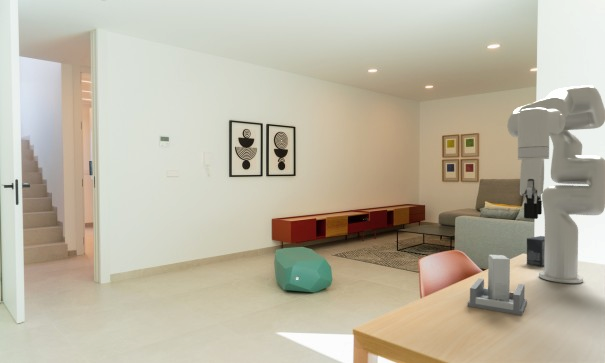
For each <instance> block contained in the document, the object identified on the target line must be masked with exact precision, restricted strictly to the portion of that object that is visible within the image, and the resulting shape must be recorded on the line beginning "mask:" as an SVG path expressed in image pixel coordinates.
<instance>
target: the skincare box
mask: <svg viewBox="0 0 605 363" xmlns="http://www.w3.org/2000/svg"><path fill="white" fill-rule="evenodd" d="M487 261H488V267H487V268H488V269H487V270H488V271H487V272H488V274H487V281H488V282H487V288H488V297H489V298H490V299H492V300H499V301H505V302H509V291H510V285H511V284H510V281H511V278H510V276H511V273H510V272H511V271H510V269H511V267H510V266H511V259H510V258H508V257H507V256H506V255H503V254H502V255H501V254H488V260H487Z"/></svg>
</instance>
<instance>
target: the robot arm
mask: <svg viewBox="0 0 605 363" xmlns="http://www.w3.org/2000/svg"><path fill="white" fill-rule="evenodd" d="M507 119H508V120H507V125H506V126H507V131H508V133H509V135H510V136H512V137H514V138H517V160H518V161H519V160H521V162H520V172H519V174H520V176H519V177H520V182H519V195H520V196H524V202H523V218H524V219H530V220H531V219H532V220H537V219H538V218H539V216H540V215H541V214H542V213H543V216H544V236H545V252H544V267H543V270H542V271H540V272H539V273H538V277H539V278H541V279H543V280H546V281H549V282H553V283H554V282H555V283H559V284H560V283H562V284H580V283H583V282H584V277H582V275H579V274H578V273H579V271H578V270H579V269H578V266H579V265H578V264H579V259H578V258H579V228H578V225H577V223H576V222H575V221H574V220H573V218H572V217H571V216H570V215H576V216H577V215H579V216H580V215H581V216H599V215H602V214H603V213H604V210H605V159H604V157H602V156H599V155H582V154H583V143H582V142H581V140H579V138H578V137H577V136H576V135H574V134H573V133H572V132H570V131H573V130H574V131H576V130H591V129H592V130H593V129H598V128H601V127H602V126H603V125H604V123H605V105H604V101H603V99H602V96H601V94H600V92H599V90H598V89H597V88H596V87H595V86H594V85H588V84H587V85H581V86H570V87H562V88H558V89H555V90H553V91H551V92H550V93H549V94H548V95H547V96H546V97H545V98H543V99H540V100H537V101H534V102H531V103H528V104H525V105H522V106H520V107H517V108H516V109H514V111H512V113H511V114H510V115H509V117H508V118H507ZM550 140H551V142H552V146H553V147H552V148H553V149H552V156H551V164H550V178H551V181H553V182H554V183H557V184H556V185H551V186H547V187H546V188H545V189H544V184H545V160H550ZM542 207H543V208H542ZM542 209H543V210H542Z"/></svg>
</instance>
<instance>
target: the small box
mask: <svg viewBox="0 0 605 363" xmlns="http://www.w3.org/2000/svg"><path fill="white" fill-rule="evenodd" d="M544 252H545V235H540V236H533V237H532V236H531V237H527V238H526V265H531V266H536V267H540V268H544Z"/></svg>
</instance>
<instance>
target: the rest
mask: <svg viewBox="0 0 605 363" xmlns="http://www.w3.org/2000/svg"><path fill="white" fill-rule="evenodd" d="M527 301H528V299H527V298H525V284H523V283H518V285H517V286H516V288H515V291H510V290H509V302H505V301H499V300H492V299H490V298H489V297H488V287H485V279H484V278H478V279H477V280H476V281H475V282H474V283H473V284H472V285H471V286H470V288H469V300H468V302H467V307H471V308H477V309H482V310H488V311H492V312H493V311H495V312H499V313H505V314H511V315H515V316H516V315H517V316H523V314H524V311H525V308H526V306H527V304H528V302H527Z"/></svg>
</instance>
